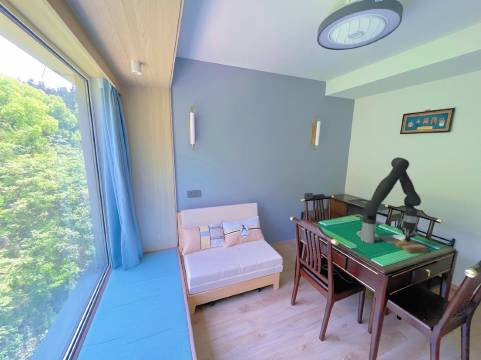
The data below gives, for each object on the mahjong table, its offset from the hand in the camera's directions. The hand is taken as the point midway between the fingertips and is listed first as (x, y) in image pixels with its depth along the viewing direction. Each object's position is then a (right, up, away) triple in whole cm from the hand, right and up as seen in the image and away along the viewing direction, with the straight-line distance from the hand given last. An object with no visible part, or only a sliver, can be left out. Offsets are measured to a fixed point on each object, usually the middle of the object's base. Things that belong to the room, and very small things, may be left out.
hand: (407, 241), depth 153 cm
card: (0, 0, +6) cm, 6 cm away
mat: (-1, -3, +13) cm, 13 cm away
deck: (0, -5, -2) cm, 6 cm away
